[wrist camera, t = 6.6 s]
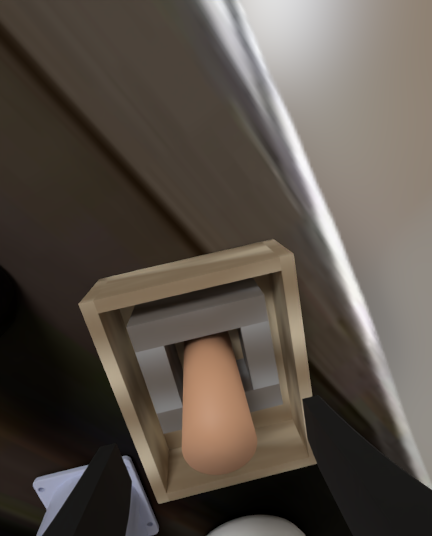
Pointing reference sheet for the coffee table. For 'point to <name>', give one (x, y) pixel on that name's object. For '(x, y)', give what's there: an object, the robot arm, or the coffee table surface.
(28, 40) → the coffee table surface
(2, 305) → the supplement bottle
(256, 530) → the flower in vase
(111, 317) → the box
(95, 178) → the coffee table surface
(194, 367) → the peg
